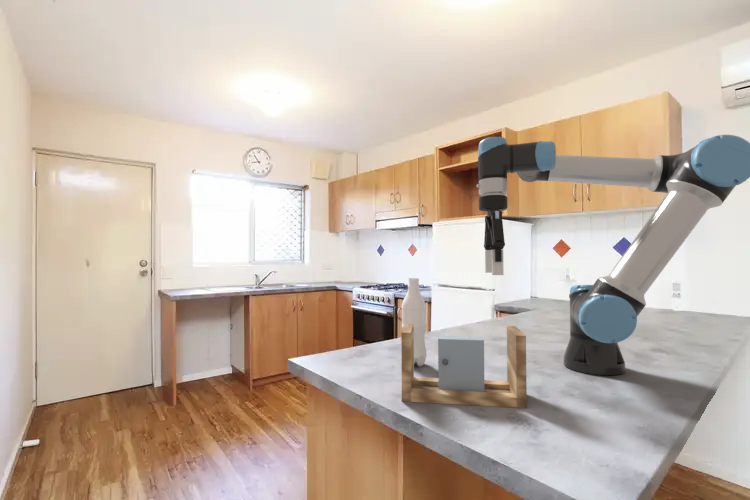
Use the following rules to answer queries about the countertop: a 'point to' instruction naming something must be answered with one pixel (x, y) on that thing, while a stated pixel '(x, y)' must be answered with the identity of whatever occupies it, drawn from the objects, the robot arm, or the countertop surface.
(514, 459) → the countertop surface
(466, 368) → the door panel
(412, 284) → the water bottle
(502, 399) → the door frame
